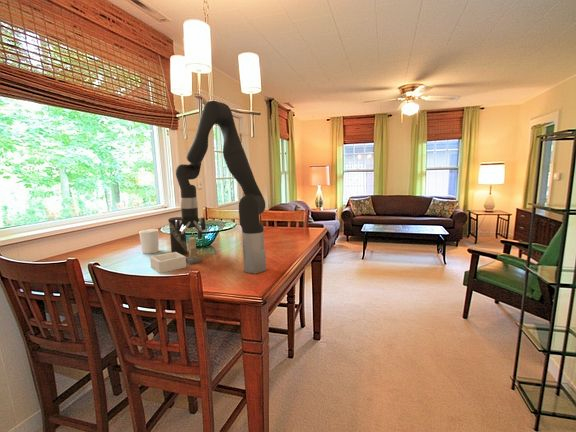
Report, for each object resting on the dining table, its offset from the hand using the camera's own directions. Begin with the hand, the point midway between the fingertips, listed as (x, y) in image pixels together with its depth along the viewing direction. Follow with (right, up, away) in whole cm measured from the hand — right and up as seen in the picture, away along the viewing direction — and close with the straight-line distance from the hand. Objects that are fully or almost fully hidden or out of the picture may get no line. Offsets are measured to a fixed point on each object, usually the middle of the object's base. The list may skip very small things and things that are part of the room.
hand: (191, 240), depth 146 cm
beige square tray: (-9, -12, -6) cm, 16 cm away
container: (-12, -9, +17) cm, 23 cm away
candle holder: (-30, -9, +23) cm, 39 cm away
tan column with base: (0, -11, +2) cm, 11 cm away
